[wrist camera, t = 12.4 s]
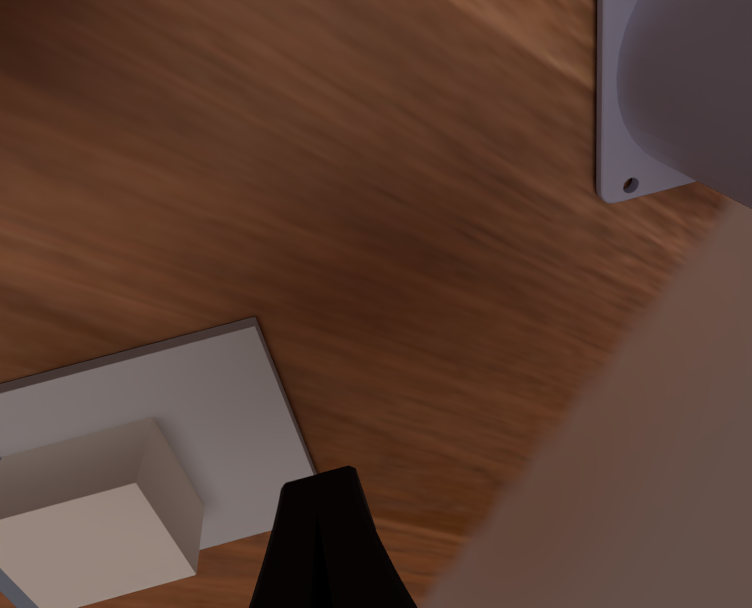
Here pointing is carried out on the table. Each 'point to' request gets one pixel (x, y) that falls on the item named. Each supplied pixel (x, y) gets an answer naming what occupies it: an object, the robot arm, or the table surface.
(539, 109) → the table surface
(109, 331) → the table surface
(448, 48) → the table surface
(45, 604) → the beige rectangular block
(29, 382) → the mat
